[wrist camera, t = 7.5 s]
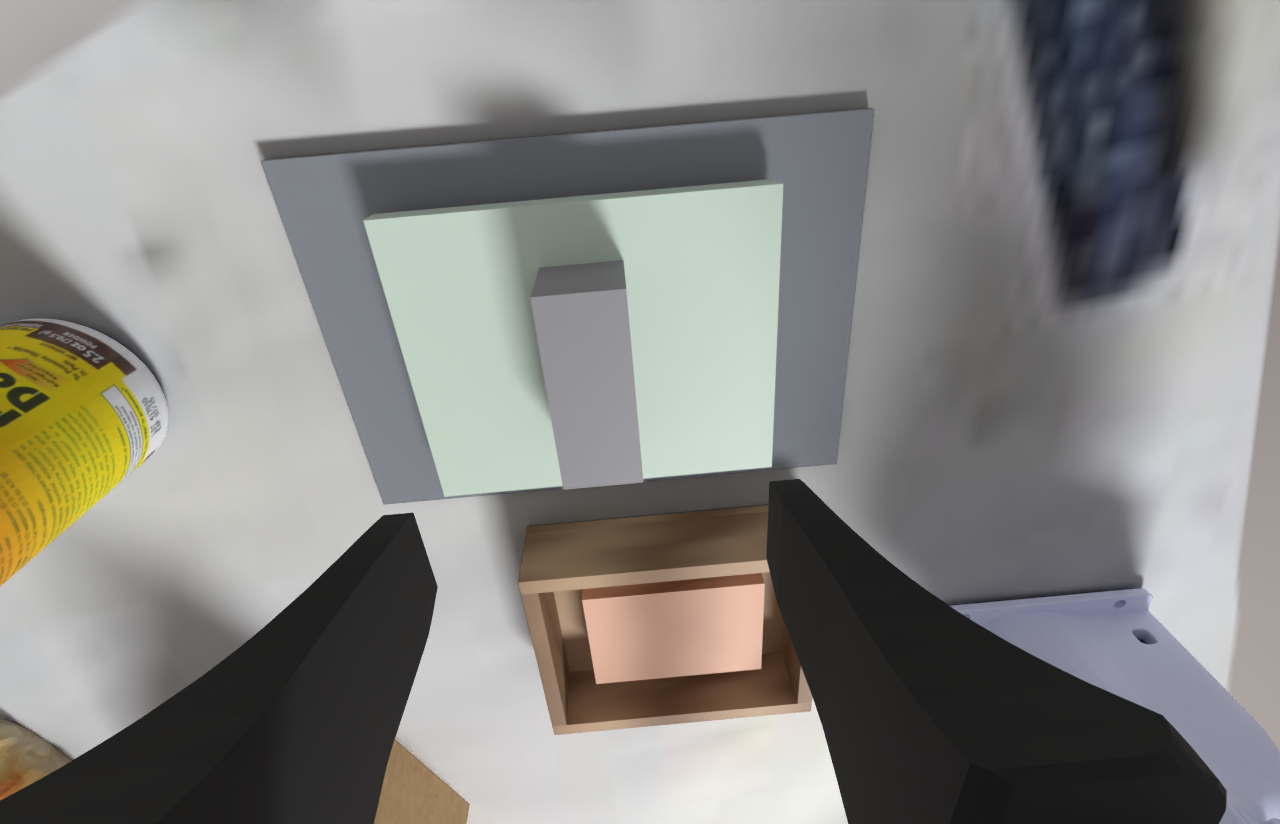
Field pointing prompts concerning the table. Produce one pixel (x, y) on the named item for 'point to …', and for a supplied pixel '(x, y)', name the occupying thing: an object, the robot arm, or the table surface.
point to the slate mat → (577, 166)
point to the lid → (589, 333)
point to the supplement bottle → (67, 428)
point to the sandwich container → (416, 794)
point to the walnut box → (658, 621)
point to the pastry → (24, 758)
